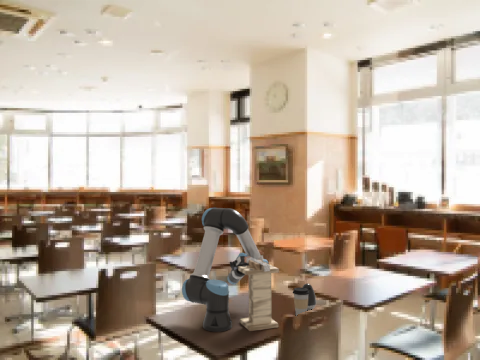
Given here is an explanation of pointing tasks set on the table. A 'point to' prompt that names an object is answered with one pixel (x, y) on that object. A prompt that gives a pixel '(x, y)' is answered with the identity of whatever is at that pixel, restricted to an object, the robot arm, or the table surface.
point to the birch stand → (259, 297)
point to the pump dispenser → (310, 296)
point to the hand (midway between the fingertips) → (251, 258)
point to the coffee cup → (300, 299)
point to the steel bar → (263, 265)
